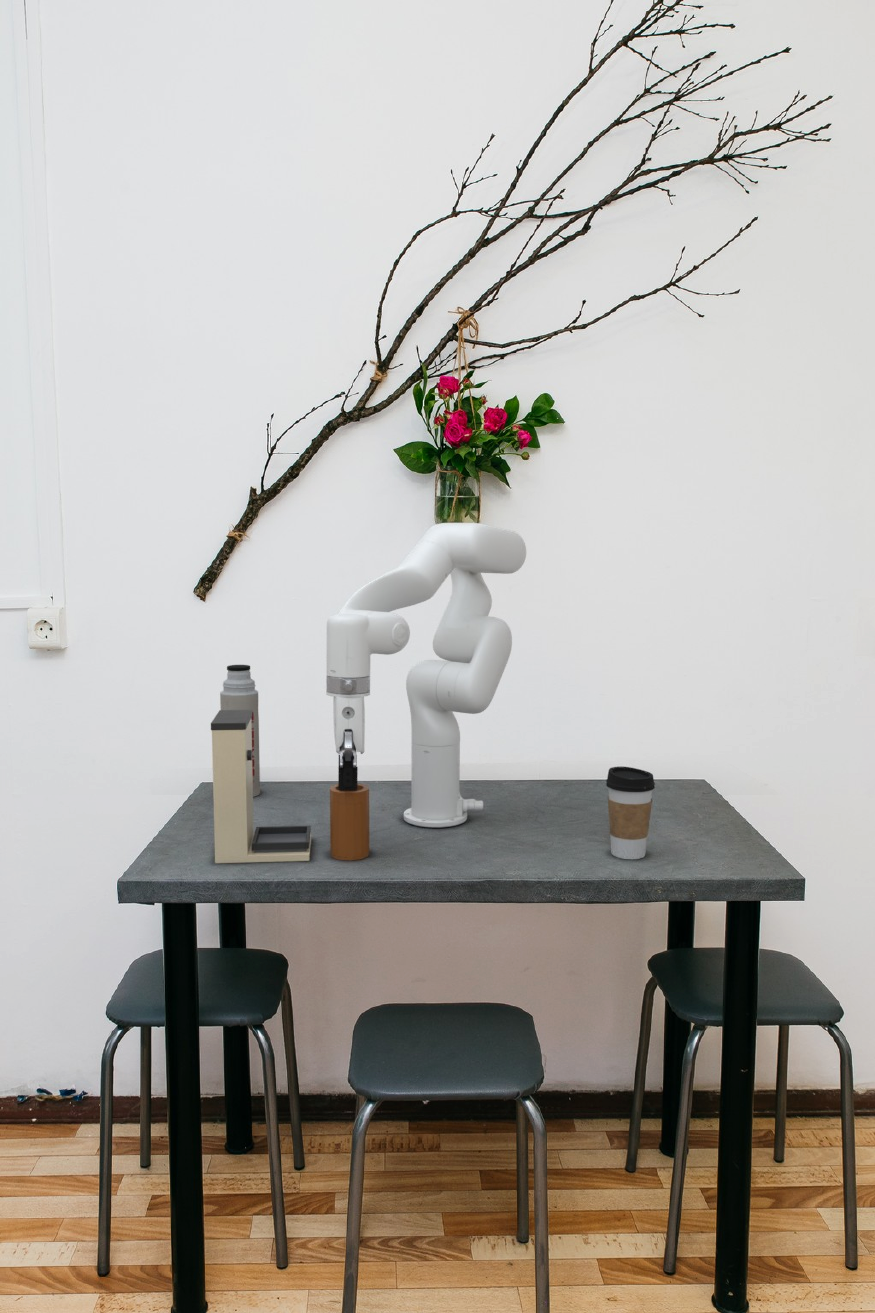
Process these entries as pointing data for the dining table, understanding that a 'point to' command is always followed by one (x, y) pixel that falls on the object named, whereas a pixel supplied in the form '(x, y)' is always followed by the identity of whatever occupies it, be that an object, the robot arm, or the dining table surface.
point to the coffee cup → (629, 810)
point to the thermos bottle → (244, 697)
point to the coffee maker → (245, 800)
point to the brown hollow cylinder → (349, 823)
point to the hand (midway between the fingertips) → (347, 783)
